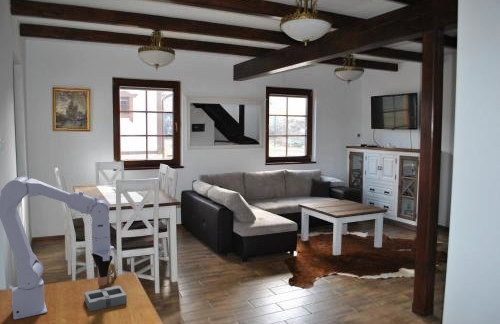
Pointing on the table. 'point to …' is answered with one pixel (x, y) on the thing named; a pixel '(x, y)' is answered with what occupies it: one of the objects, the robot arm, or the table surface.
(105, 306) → the hole block
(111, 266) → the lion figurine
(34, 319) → the table surface
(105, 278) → the peg
